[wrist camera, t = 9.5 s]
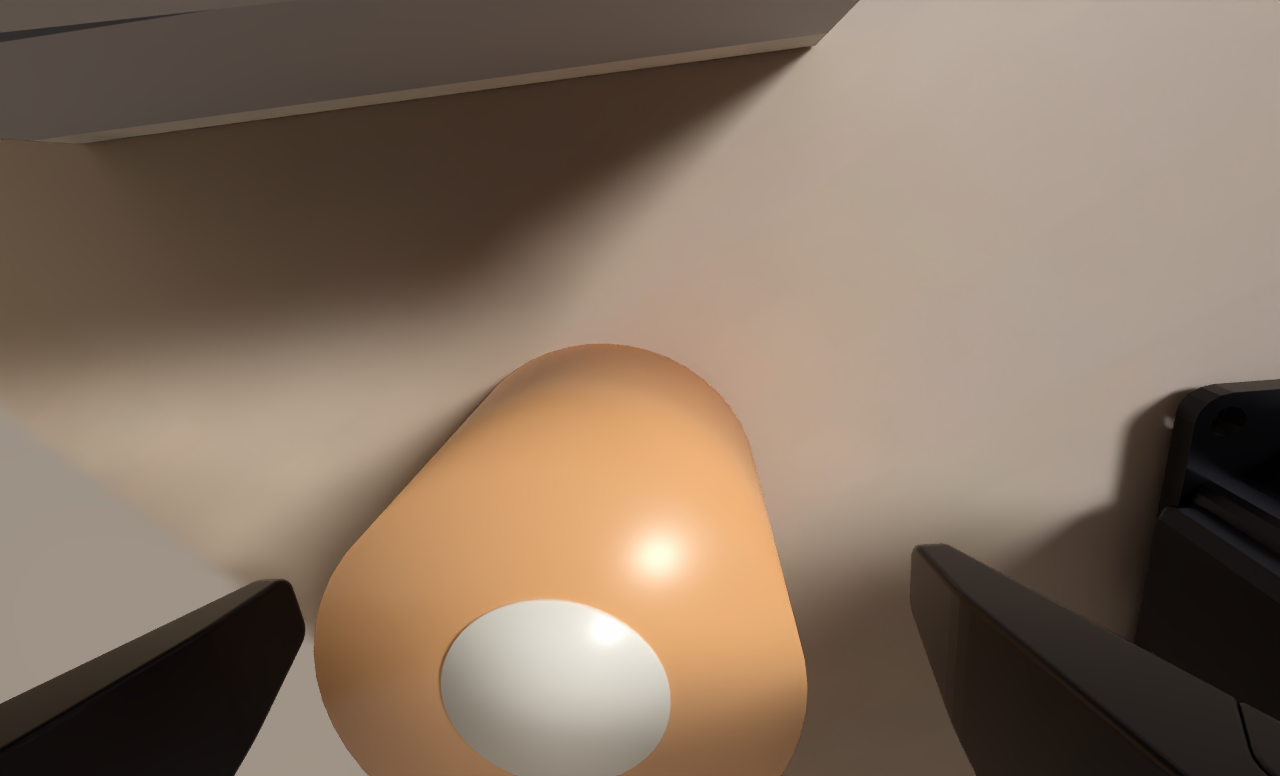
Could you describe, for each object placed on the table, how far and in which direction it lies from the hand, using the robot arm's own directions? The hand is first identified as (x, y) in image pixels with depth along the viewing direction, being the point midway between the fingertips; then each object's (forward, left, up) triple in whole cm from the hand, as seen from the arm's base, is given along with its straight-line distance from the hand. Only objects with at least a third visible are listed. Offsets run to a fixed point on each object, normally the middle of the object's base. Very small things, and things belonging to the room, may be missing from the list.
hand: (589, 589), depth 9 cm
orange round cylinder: (0, 0, -3) cm, 3 cm away
